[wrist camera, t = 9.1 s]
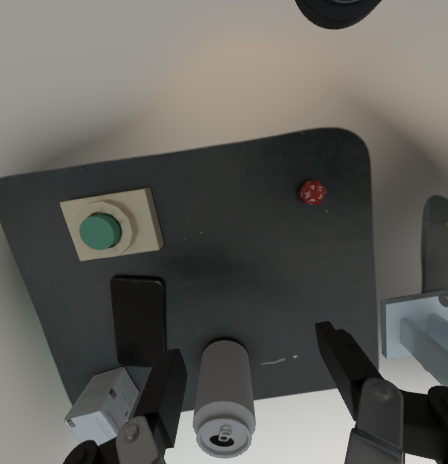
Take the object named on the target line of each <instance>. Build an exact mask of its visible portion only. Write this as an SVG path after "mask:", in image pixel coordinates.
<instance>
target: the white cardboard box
mask: <svg viewBox="0 0 448 464" xmlns="http://www.w3.org/2000/svg"><path fill="white" fill-rule="evenodd" d="M138 393H139V391H138V389H137V388H136V386H135V385H134V383H133V381H132V380H131V378H130V376H129V375H128V373H127V371H126V369H125V368H124V367H120V368H116V369H113V370H110V371H107V372H104V373H100V374H97V375H94V376H93V377H92V379H91V380H90V382H89V383H88V385H87V386H86V388H85V389H84V391H83V392H82V394H81V395H80V396H79V398H78V399H77V401H76V402H75V404H74V405H73V407H72V408H71V410H70V411H69V413H68V414H67V416H66V417H65V419H64V422H65V423H66V424H67V426H68V427H69V428H70V430H71V432H72V434H73V435H74V436H75V437H76V438H77V439H78V440H79V442H80V443H82V442H84V441H87V440H94V441H95V442H96V444H97V445H99V444H103V443H105V442H107V441H109V440H111V439H113V438H114V437H116V436H117V435H118V433H119V431H120V429H121V428H122V427H123V425H124V424H125V423H126V422H127V420H128V417H129V415H130V413H131V410H132V408H133V405H134V403H135V401H136V398H137V396H138Z"/></svg>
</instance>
